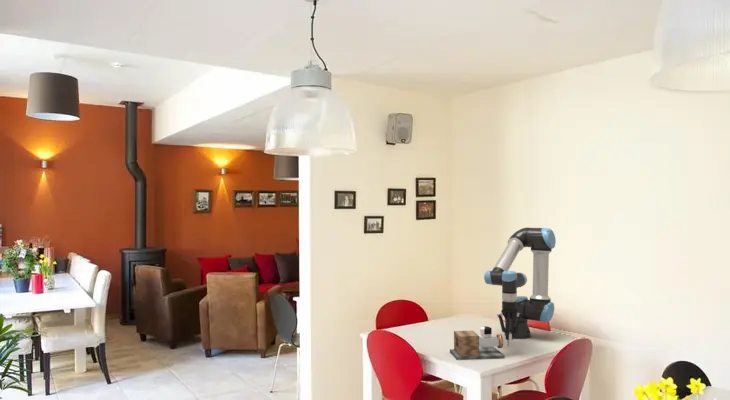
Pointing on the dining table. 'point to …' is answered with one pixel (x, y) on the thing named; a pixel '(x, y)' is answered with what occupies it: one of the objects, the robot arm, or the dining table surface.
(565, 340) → the dining table surface
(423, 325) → the dining table surface
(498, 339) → the shaft
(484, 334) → the medicine bottle
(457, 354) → the bearing block
